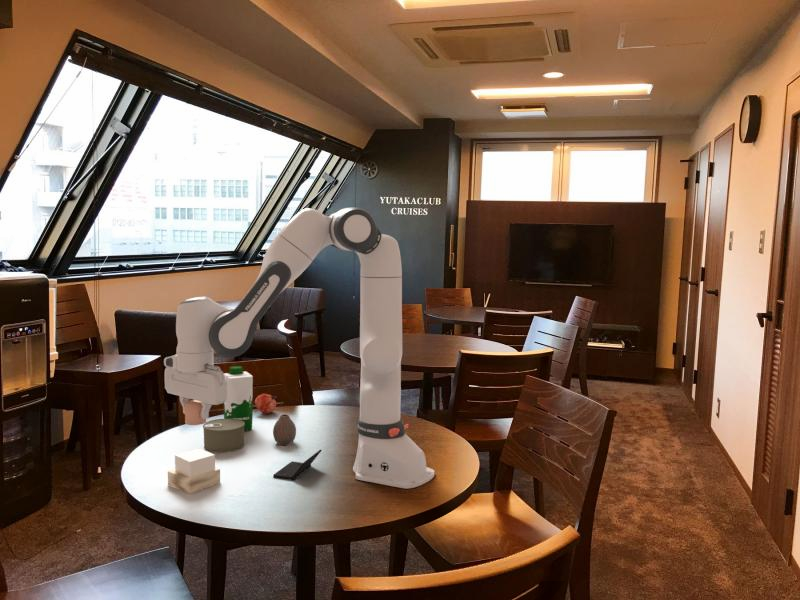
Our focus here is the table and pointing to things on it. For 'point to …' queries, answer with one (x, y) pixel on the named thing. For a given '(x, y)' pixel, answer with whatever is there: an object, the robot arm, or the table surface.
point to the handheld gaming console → (295, 468)
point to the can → (224, 435)
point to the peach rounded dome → (193, 413)
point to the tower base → (193, 480)
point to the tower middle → (195, 462)
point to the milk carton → (239, 396)
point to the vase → (284, 430)
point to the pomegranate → (265, 403)
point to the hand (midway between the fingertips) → (195, 415)
